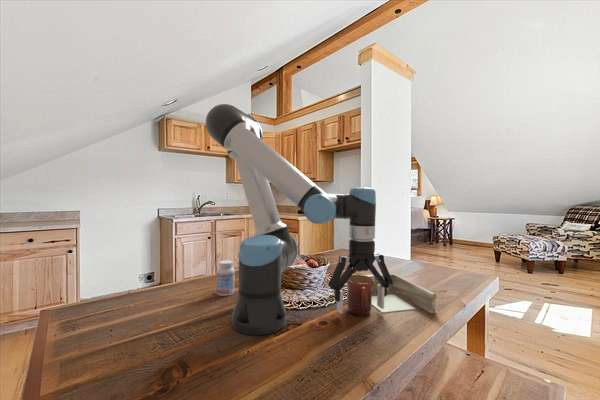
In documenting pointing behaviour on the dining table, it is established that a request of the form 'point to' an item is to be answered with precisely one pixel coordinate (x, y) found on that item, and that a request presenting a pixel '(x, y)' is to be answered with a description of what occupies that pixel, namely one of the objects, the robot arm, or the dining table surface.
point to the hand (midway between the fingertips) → (360, 309)
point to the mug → (359, 294)
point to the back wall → (414, 293)
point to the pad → (392, 304)
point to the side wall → (376, 283)
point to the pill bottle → (225, 278)
